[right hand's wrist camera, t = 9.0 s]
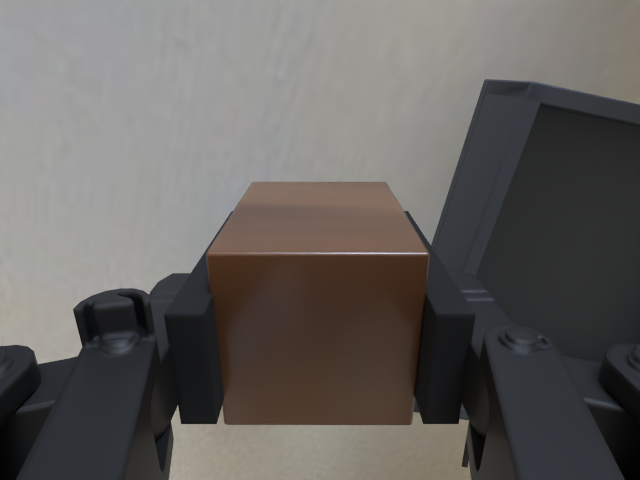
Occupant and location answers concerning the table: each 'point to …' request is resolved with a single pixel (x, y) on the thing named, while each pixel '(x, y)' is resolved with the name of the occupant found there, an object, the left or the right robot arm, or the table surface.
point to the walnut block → (318, 305)
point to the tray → (550, 213)
